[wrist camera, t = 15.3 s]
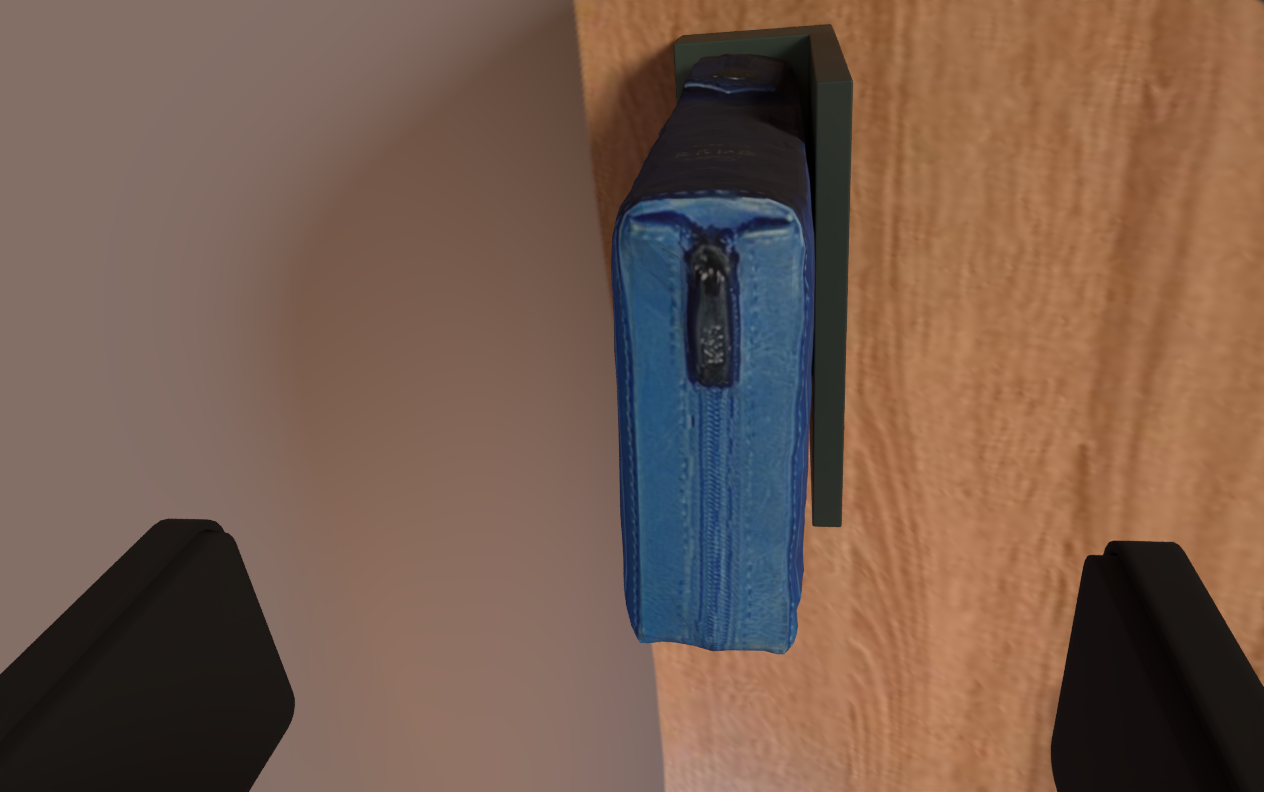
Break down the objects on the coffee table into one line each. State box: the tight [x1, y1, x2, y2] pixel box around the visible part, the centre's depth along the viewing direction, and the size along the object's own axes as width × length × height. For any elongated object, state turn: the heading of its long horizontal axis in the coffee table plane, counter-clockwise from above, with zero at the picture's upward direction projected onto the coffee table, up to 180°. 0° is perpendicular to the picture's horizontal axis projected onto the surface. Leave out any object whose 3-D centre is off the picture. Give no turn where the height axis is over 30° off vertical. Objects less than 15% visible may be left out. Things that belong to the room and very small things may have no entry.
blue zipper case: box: [611, 54, 815, 654], centre depth 30 cm, size 14×5×20 cm, turn 2°
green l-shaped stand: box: [673, 24, 853, 527], centre depth 35 cm, size 6×15×15 cm, turn 5°
